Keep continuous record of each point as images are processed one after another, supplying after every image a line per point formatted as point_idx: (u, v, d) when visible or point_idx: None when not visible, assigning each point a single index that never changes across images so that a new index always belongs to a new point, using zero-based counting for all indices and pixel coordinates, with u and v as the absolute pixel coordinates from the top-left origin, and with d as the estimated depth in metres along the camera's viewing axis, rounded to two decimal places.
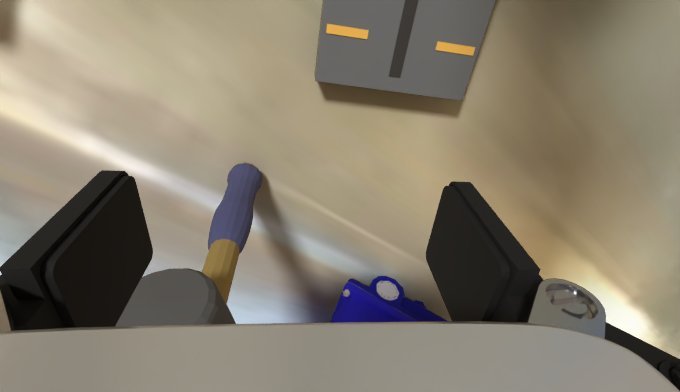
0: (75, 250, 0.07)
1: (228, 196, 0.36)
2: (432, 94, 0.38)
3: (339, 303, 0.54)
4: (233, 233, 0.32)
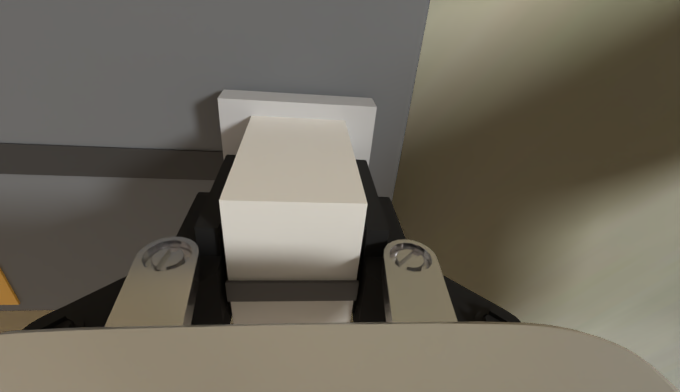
0: None
1: None
2: None
3: None
4: None
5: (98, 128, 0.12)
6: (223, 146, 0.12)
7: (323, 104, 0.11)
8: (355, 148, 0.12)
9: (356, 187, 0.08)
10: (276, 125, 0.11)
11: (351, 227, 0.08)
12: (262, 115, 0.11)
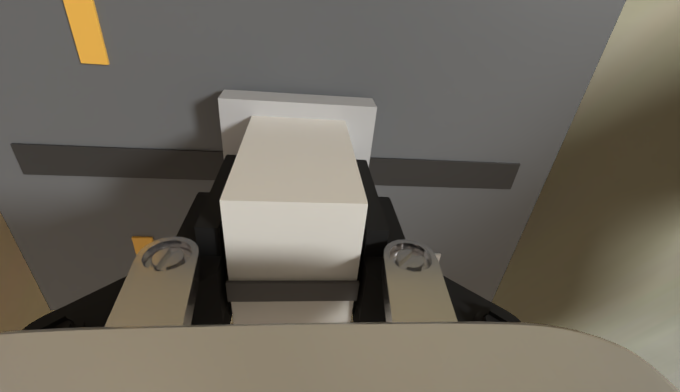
0: None
1: None
2: (28, 254, 0.15)
3: None
4: None
5: None
6: (223, 146, 0.12)
7: (323, 104, 0.11)
8: (355, 148, 0.12)
9: (356, 187, 0.08)
10: (276, 125, 0.11)
11: (351, 227, 0.08)
12: (262, 115, 0.11)
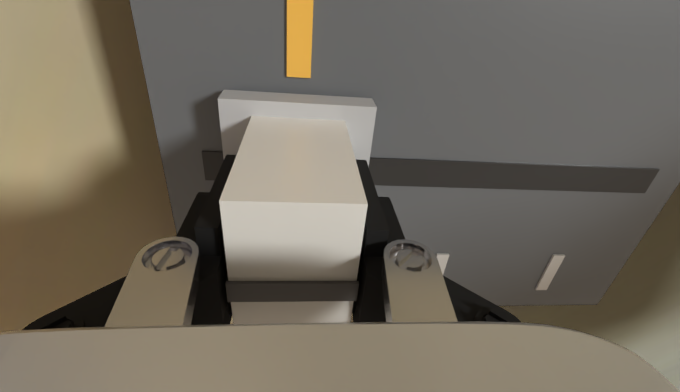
0: None
1: None
2: None
3: None
4: None
5: (452, 144, 0.14)
6: (223, 146, 0.12)
7: (323, 104, 0.11)
8: (355, 148, 0.12)
9: (356, 187, 0.08)
10: (276, 125, 0.11)
11: (351, 227, 0.08)
12: (262, 115, 0.11)
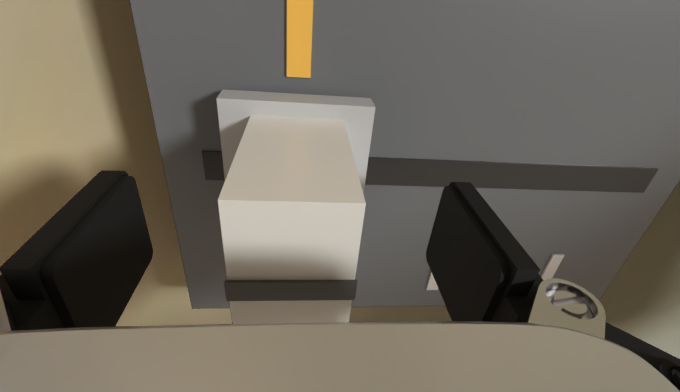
0: (75, 250, 0.07)
1: None
2: (186, 255, 0.16)
3: None
4: None
5: (451, 144, 0.14)
6: (222, 146, 0.12)
7: (322, 104, 0.11)
8: (354, 148, 0.12)
9: (354, 187, 0.08)
10: (275, 125, 0.11)
11: (349, 227, 0.08)
12: (261, 115, 0.11)
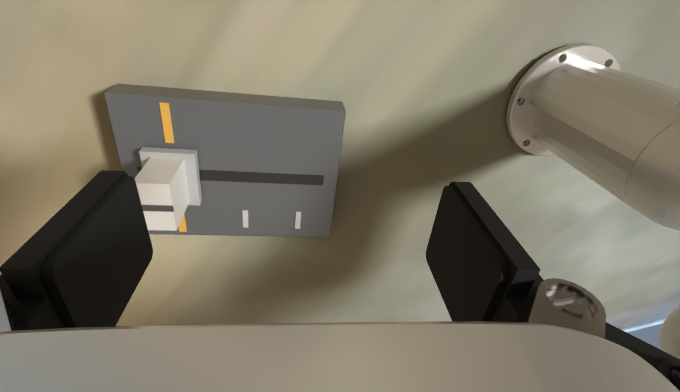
0: (76, 250, 0.07)
1: None
2: None
3: None
4: None
5: (234, 165, 0.37)
6: (142, 166, 0.34)
7: (175, 153, 0.34)
8: (190, 167, 0.35)
9: (169, 180, 0.31)
10: (157, 160, 0.33)
11: (166, 190, 0.30)
12: (154, 156, 0.34)
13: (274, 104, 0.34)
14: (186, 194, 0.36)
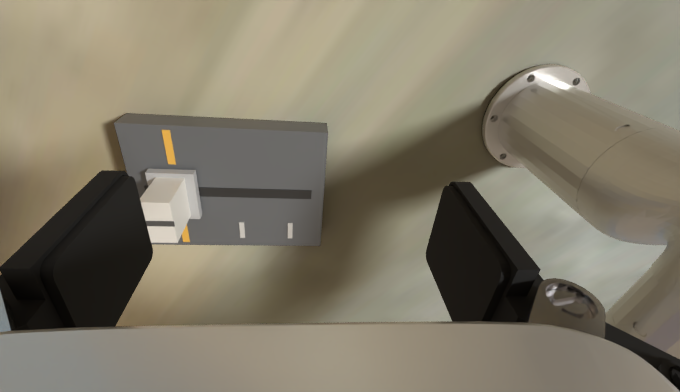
0: (76, 250, 0.07)
1: None
2: None
3: None
4: None
5: (229, 183, 0.41)
6: (148, 185, 0.39)
7: (176, 173, 0.38)
8: (190, 185, 0.39)
9: (170, 199, 0.35)
10: (161, 180, 0.38)
11: (167, 208, 0.35)
12: (158, 177, 0.38)
13: (263, 128, 0.38)
14: (187, 209, 0.40)
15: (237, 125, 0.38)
